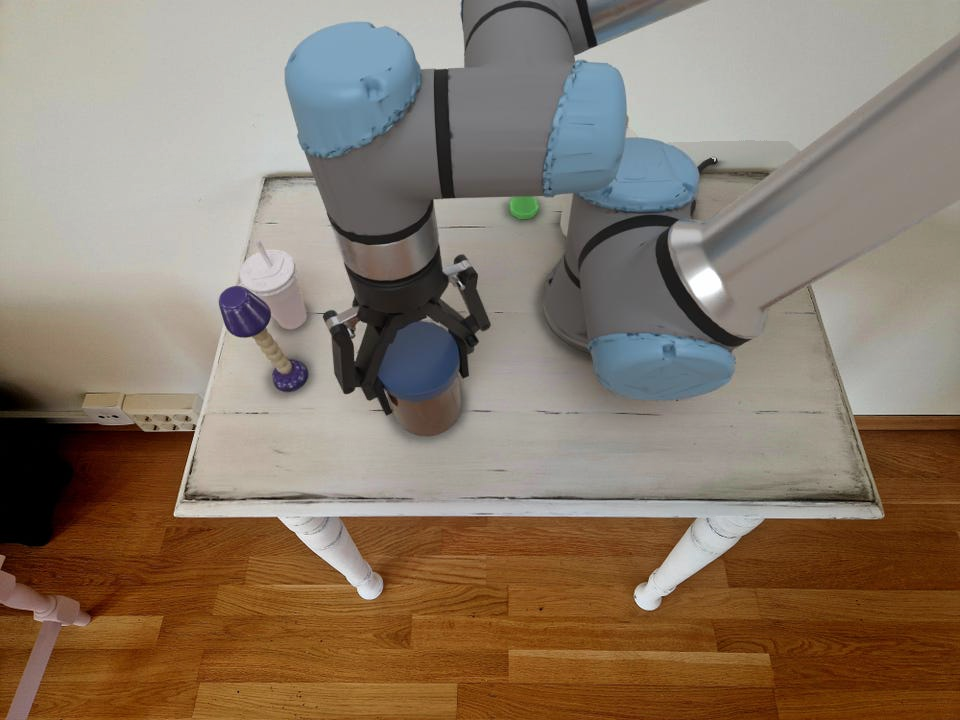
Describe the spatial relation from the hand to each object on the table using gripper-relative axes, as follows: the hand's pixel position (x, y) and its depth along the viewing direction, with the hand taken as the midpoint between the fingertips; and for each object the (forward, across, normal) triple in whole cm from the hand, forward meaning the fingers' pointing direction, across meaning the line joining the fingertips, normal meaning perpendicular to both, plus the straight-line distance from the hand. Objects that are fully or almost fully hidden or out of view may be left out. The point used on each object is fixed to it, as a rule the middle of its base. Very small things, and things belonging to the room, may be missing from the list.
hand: (423, 386), depth 63 cm
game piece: (+5, -26, -22) cm, 34 cm away
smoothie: (+5, +10, -20) cm, 23 cm away
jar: (+5, 0, 0) cm, 5 cm away
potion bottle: (+5, -32, -14) cm, 35 cm away
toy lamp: (+5, +13, -12) cm, 18 cm away
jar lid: (-6, 0, 0) cm, 6 cm away
